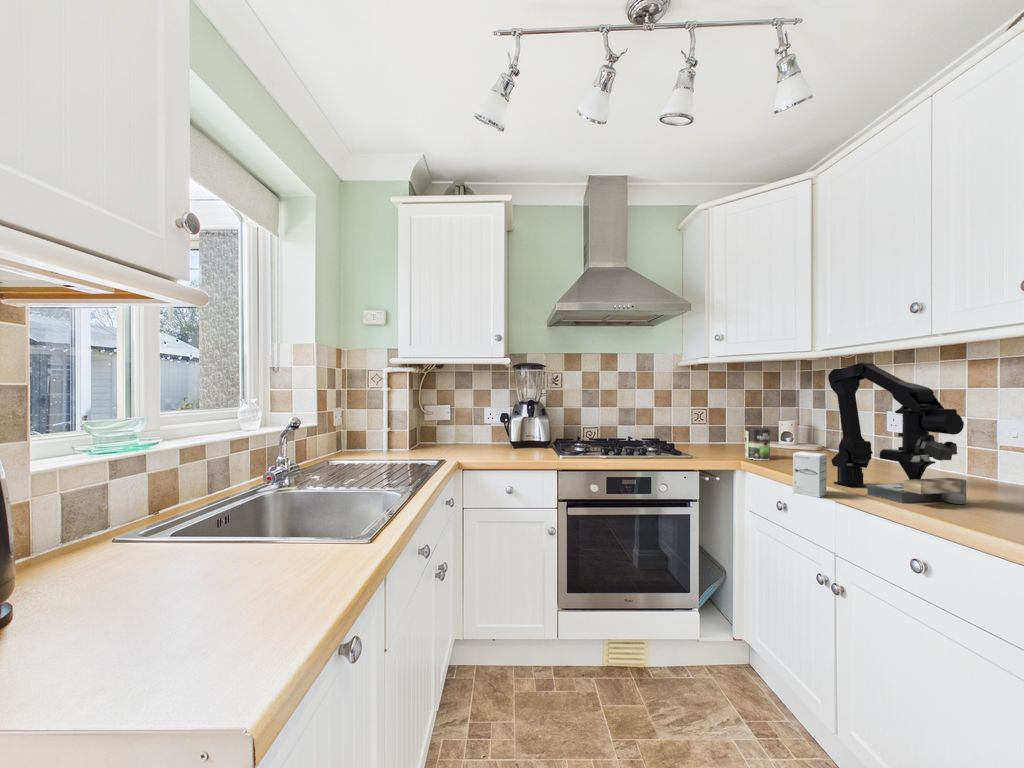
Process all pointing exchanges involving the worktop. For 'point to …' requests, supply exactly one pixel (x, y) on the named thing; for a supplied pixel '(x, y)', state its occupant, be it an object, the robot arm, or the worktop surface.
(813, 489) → the supplement box
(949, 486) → the notched beige block
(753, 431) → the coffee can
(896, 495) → the slab
